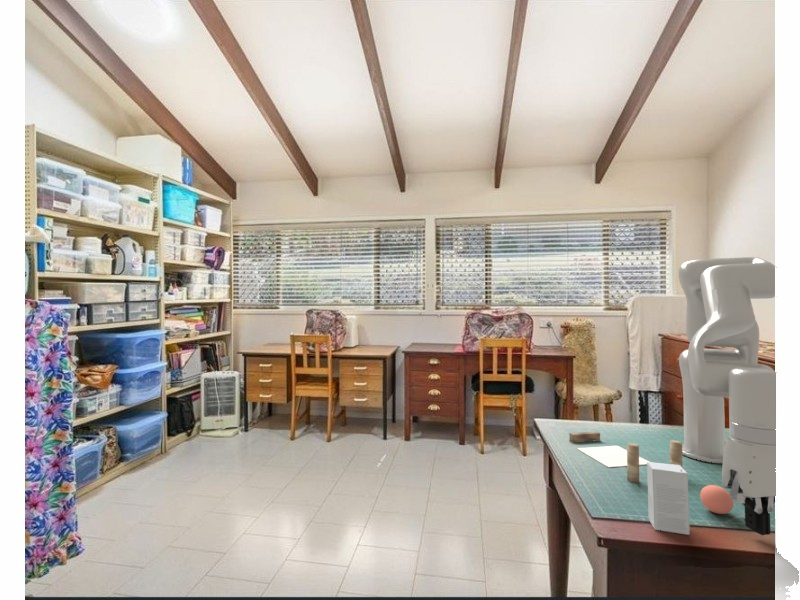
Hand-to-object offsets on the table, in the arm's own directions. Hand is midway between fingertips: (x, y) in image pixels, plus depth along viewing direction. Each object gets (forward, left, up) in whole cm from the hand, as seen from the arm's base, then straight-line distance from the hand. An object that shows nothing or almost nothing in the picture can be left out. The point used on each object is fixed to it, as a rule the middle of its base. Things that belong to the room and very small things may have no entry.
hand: (757, 530), depth 72 cm
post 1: (+5, -25, -2) cm, 26 cm away
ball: (-2, -9, +1) cm, 9 cm away
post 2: (-8, -25, -2) cm, 26 cm away
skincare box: (+13, -6, -2) cm, 15 cm away
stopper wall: (-2, -53, -2) cm, 53 cm away
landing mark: (-2, -40, -2) cm, 40 cm away
